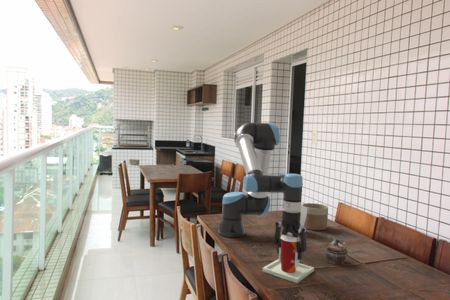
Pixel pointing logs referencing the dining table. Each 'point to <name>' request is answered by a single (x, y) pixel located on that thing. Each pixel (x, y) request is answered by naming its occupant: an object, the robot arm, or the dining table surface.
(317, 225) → the planter
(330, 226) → the dining table surface
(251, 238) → the dining table surface
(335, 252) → the cupcake
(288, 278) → the tray
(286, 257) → the coffee cup
